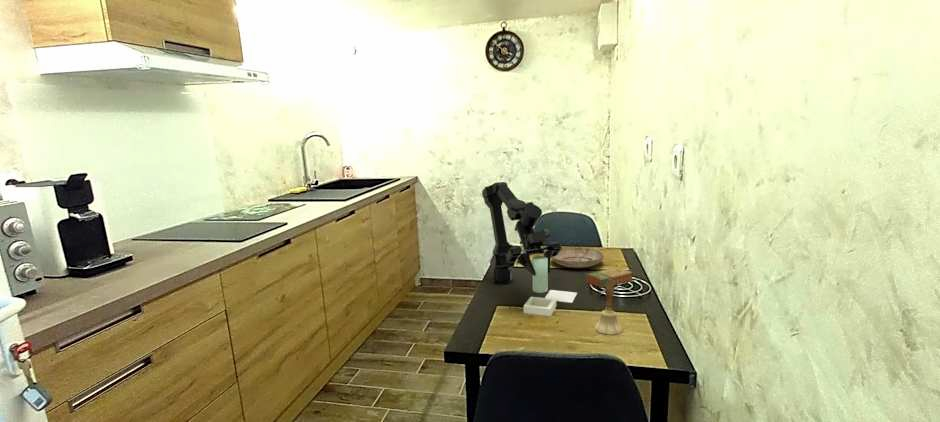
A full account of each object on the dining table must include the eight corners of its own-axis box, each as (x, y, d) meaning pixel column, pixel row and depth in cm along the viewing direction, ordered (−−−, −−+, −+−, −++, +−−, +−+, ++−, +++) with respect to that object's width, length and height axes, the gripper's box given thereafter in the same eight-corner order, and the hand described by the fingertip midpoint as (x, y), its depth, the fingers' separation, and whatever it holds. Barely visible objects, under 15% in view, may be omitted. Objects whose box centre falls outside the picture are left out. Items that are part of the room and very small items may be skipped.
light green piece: (530, 291, 156) (530, 259, 154) (534, 286, 161) (534, 255, 159) (545, 293, 154) (545, 261, 152) (549, 288, 159) (549, 256, 157)
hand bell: (603, 321, 150) (604, 273, 147) (627, 328, 144) (629, 278, 141) (589, 329, 144) (589, 279, 141) (613, 337, 138) (615, 285, 135)
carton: (632, 282, 185) (632, 271, 184) (601, 289, 178) (601, 279, 177) (616, 276, 192) (616, 266, 192) (586, 283, 185) (586, 273, 185)
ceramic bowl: (610, 260, 213) (610, 250, 212) (593, 275, 194) (594, 263, 193) (561, 254, 226) (561, 244, 225) (541, 267, 206) (541, 256, 205)
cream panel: (543, 301, 167) (543, 299, 167) (550, 291, 176) (550, 289, 176) (572, 304, 164) (572, 302, 163) (577, 294, 173) (577, 292, 172)
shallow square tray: (523, 314, 157) (523, 306, 156) (530, 304, 165) (530, 296, 164) (550, 317, 153) (550, 309, 153) (556, 307, 161) (556, 299, 161)
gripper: (508, 224, 154) (523, 265, 146) (559, 219, 160) (576, 258, 152) (500, 242, 163) (513, 282, 155) (548, 236, 169) (563, 274, 160)
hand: (541, 274), depth 155 cm, fingers closed on light green piece, 5 cm apart
